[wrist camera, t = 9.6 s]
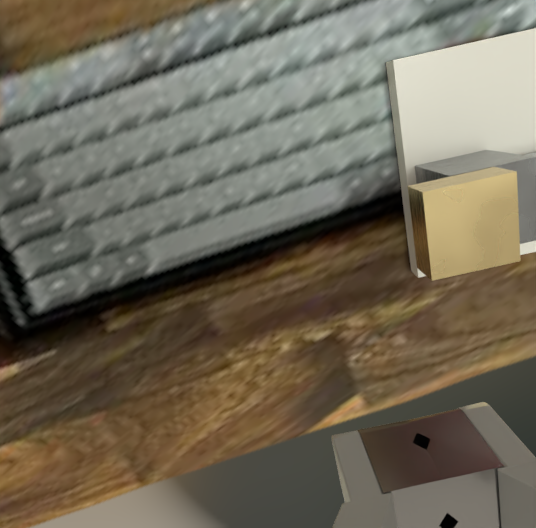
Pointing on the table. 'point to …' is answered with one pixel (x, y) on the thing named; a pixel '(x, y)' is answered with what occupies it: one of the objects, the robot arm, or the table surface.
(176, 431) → the table surface
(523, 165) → the tongs
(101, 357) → the table surface
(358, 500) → the robot arm
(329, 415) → the table surface
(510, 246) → the tab
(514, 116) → the cutting board
